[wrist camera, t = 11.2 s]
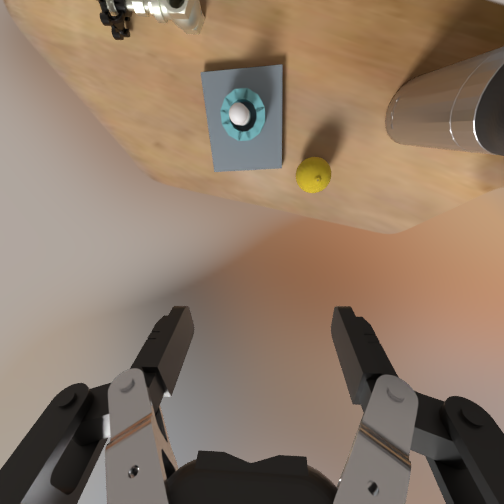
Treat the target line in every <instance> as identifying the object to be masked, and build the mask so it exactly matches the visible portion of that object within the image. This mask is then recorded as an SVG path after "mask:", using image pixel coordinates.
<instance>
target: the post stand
mask: <svg viewBox="0 0 504 504" xmlns="http://www.w3.org/2000/svg"><path fill="white" fill-rule="evenodd" d="M201 79H202V86H203V93H204V100H205V107H206V114H207V121H208V129H209V136H210V143H211V150H212V157H213V164H214V172H222V171H240V170H258V169H276V168H282V65H272V66H261V67H251V68H240V69H230V70H220V71H209V72H201ZM241 88H248V89H250V90H251V91H253V92H255V93H256V94H258V95H259V97H260V99H261V101H262V103H263V105H264V107H265V124H264V126H263V128H262V130H261V133H260V134H258V135H257V136H255V137H254V138H253V139H252V140H247V141H238V140H236V139H234V138H233V137H231V136H229V135H228V133H227V132H226V130H225V129H224V127H223V125H222V121H221V112H220V110H221V107H222V104H223V102H224V99H225V97H226V96H227V95H228V94H230V93H231V92H232V91H233V90H234V89H241ZM229 117H230V119H231V121H232V122H233V123H234V125H235V126H236V128H237V129H239V130H241V131H242V132H246V131H249V130H250V129H251V128H253V127H254V124H255V122H256V120H257V113H256V109H255V107H254V105H252V104H251V103H249V102H240V103H234V104H233V105H232V106H231V107H230V110H229Z"/></svg>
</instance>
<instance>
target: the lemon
mask: <svg viewBox="0 0 504 504" xmlns="http://www.w3.org/2000/svg"><path fill="white" fill-rule="evenodd" d="M330 179H331V169H330V166H329V165H328V163H327V162H326V161H325V160H324V159H322V158H320V157H310V158H307V159H305V160H304V161H302V163H301V164H300V165H299V167H298V168H297V171H296V181H297V183H298V185H299V187H300V188H301V189H302V190H304V191H305V192H309V193H316V192H320V191H322V190H323V189H324V188H326V186H327V185H328V184H329V182H330Z"/></svg>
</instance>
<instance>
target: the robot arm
mask: <svg viewBox="0 0 504 504" xmlns="http://www.w3.org/2000/svg"><path fill="white" fill-rule="evenodd" d="M385 122H386V129H387V132H388V134H389V136H390V137H391V139H393V140H394V141H395V142H397V143H399V144H404V145H412V146H420V147H429V148H438V149H447V150H456V151H465V152H475V153H484V154H493V155H502V156H504V47H501V48H498V49H495V50H492V51H489V52H487V53H484V54H481V55H478V56H475V57H472V58H469V59H467V60H464V61H461V62H458V63H455V64H452V65H450V66H447V67H444V68H441V69H438V70H435V71H432V72H429V73H427V74H424V75H421V76H418V77H416V78H414V79H412V80H410V81H409V82H407V83H406V84H405V85H404V86H402V87H401V88H400V90H399V91H398V92H397V93H396V94H395V96H394V97H393V99H392V100H391V103H390V105H389V107H388V110H387V113H386V120H385ZM193 334H194V324H193V320H192V317H191V313H190V310H189V307H188V306H174V307H173V308H172V310H171V312H170V314H169V315H168V316H163V317H162V318H161V319H160V320H159V321H158V322H157V323H156V324H155V326H154V328H153V330H152V333H150V335H149V337H148V340H146V342H145V344H144V346H143V347H142V349H141V351H140V352H139V354H138V356H137V358H136V359H135V361H134V363H133V364H132V366H131V368H130V369H128V370H126V371H124V372H122V373H121V374H119V375H118V376H117V377H116V378H115V379H114V380H113V381H112V383H109V384H105V385H102V386H98V387H95V388H92V389H89V388H88V387H87V385H86V384H83V383H77V384H73V385H71V386H69V387H67V388H65V389H64V390H62V391H61V392H60V393H59V394H57V395H56V397H54V399H53V400H52V401H51V403H50V404H49V405H48V406H47V408H46V409H45V411H44V412H43V413H42V415H41V416H40V417H39V419H38V420H37V421H36V423H35V424H34V425H33V427H32V428H31V429H30V431H29V432H28V433H27V435H26V436H25V438H24V439H23V440H22V441H21V443H20V444H19V445H18V447H17V448H16V450H15V451H14V452H13V454H12V455H11V456H10V458H9V459H8V460H7V462H6V463H5V464H4V466H3V467H2V468H1V470H0V504H77V503H78V500H79V498H80V496H81V494H82V492H83V490H84V488H85V486H86V483H87V481H88V479H89V477H90V475H91V473H92V471H93V468H94V466H95V464H96V462H97V460H98V458H99V456H100V454H101V451H102V449H103V447H104V445H105V443H106V441H107V439H108V437H110V436H111V440H110V443H108V444H107V446H106V449H105V466H106V489H107V504H405V503H406V497H407V490H408V484H409V479H410V472H411V462H410V461H409V453H410V450H412V451H415V452H417V453H420V454H422V455H424V456H426V459H427V461H428V463H429V465H430V467H431V470H432V472H433V474H434V477H435V479H436V481H437V484H438V486H439V488H440V491H441V493H442V495H443V498H444V500H445V502H446V504H504V433H503V432H502V431H501V429H500V428H499V427H498V425H497V424H496V423H495V421H494V420H493V418H492V417H491V416H490V415H489V414H488V413H487V412H486V411H485V410H484V409H483V408H481V407H480V406H479V405H477V404H476V403H474V402H472V401H470V400H468V399H466V398H463V397H459V396H452V397H449V398H447V400H446V401H445V402H444V401H441V400H438V399H435V398H432V397H429V396H426V395H423V394H420V393H418V392H416V391H414V390H413V389H412V388H411V387H410V386H409V385H408V384H407V383H406V382H405V381H403V380H402V379H400V378H399V377H398V375H397V374H396V372H395V370H394V368H393V366H392V365H391V363H390V361H389V359H388V357H387V355H386V353H385V351H384V349H383V348H382V346H381V344H380V343H379V340H378V338H377V336H376V335H375V332H374V330H373V328H372V327H371V325H370V324H369V323H368V322H367V321H366V320H365V319H364V318H363V317H356V316H355V314H354V312H353V310H352V308H351V307H350V306H348V307H346V306H344V307H343V306H337V307H335V308H334V313H333V319H332V324H331V334H332V338H333V342H334V345H335V348H336V351H337V355H338V358H339V361H340V365H341V368H342V371H343V374H344V377H345V380H346V384H347V387H348V390H349V394H350V397H351V400H352V403H353V404H359V405H361V406H362V409H363V412H364V414H363V417H362V419H361V422H360V425H359V428H358V431H357V433H356V436H355V440H354V442H353V444H352V447H351V450H350V453H349V455H348V458H347V461H346V464H345V466H344V469H343V472H342V474H341V477H340V480H339V483H338V485H337V487H336V486H335V485H334V484H333V483H332V482H331V481H330V480H329V479H328V478H327V477H326V476H325V475H323V474H322V473H321V472H319V471H318V470H316V469H314V468H313V467H311V466H308V465H307V458H306V457H301V456H284V455H278V456H275V457H271V458H268V459H264V460H261V461H258V462H254V463H249V462H246V461H244V460H241V459H239V458H237V457H234V456H232V455H230V454H227V453H225V452H214V451H198V455H197V459H196V460H193V461H191V462H189V463H187V464H185V465H184V466H182V467H180V468H179V469H178V465H177V462H176V459H175V456H174V454H173V451H172V448H171V445H170V442H169V437H168V434H167V430H166V426H165V422H164V418H163V414H162V410H161V407H160V403H161V400H162V398H163V396H165V397H171V396H172V393H173V390H174V387H175V385H176V382H177V379H178V376H179V373H180V371H181V368H182V365H183V362H184V359H185V357H186V354H187V351H188V349H189V346H190V343H191V340H192V337H193Z"/></svg>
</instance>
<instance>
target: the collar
mask: <svg viewBox="0 0 504 504" xmlns="http://www.w3.org/2000/svg"><path fill="white" fill-rule="evenodd" d="M240 102H249V103H251V104H252V105H254V107H255V109H256V113H257V120H256V122H255V124H254V127H253V128H251V129H250V130H249V131H246V132H242V131H241V130H239V129H237V128H236V126H235V125H234V123H233V122H232V121H231V119H230V117H229V110H230V107H231V106H232V105H233V104H234V103H240ZM220 112H221V121H222V125H223V127H224V129H225V130H226V132H227V133H228V135H229V136H231V137H233V138H234V139H236V140H238V141H247V140H252V139H253V138H254V137H255V136H257V135H258V134H260V133H261V130H262V128H263V126H264V124H265V107H264V105H263V103H262V101H261V99H260V97H259V95H258V94H256V93H255V92H253V91H251V90H250V89H248V88H241V89H234V90H233V91H232V92H231V93H230V94H228V95H227V96H226V97H225V99H224V102H223V104H222V107H221V110H220Z"/></svg>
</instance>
